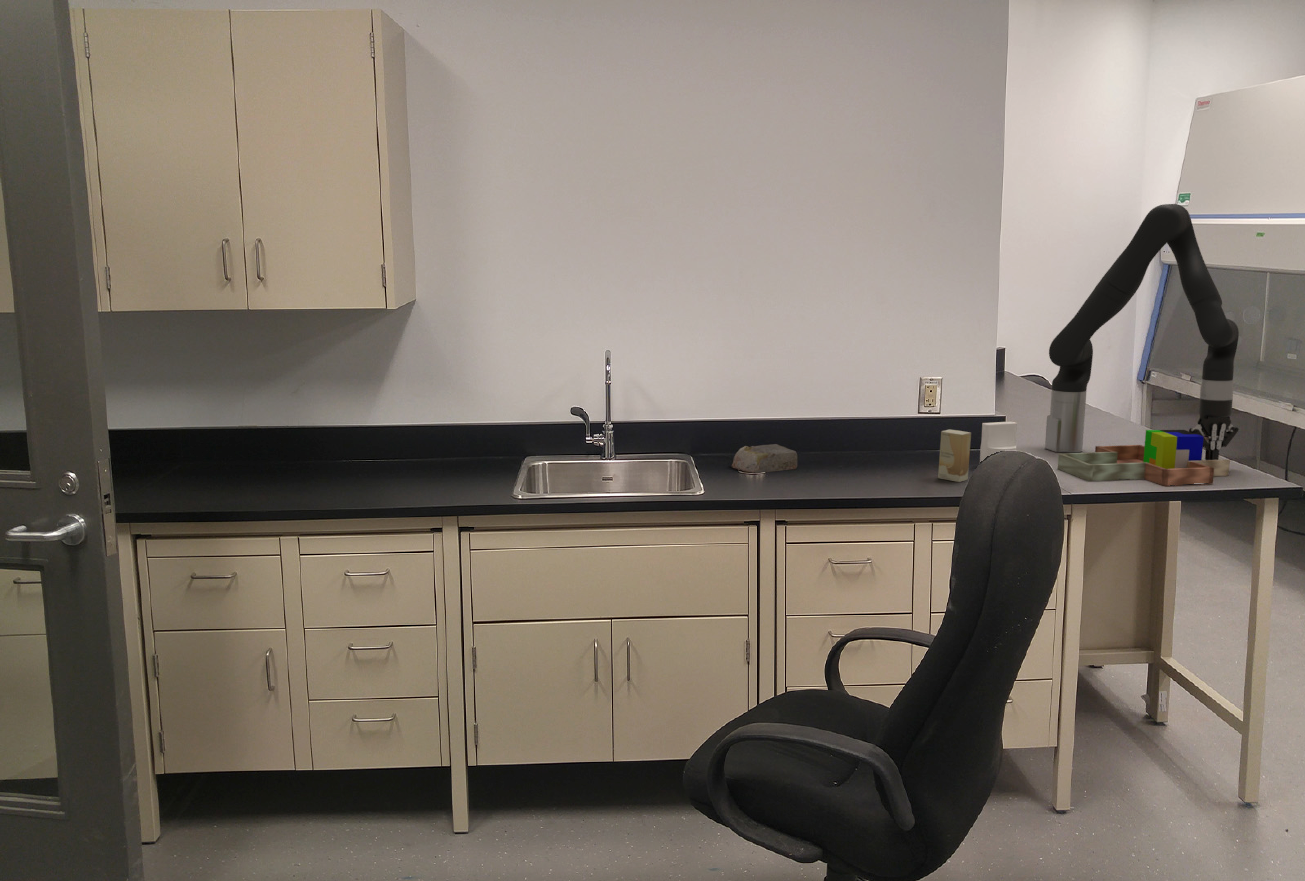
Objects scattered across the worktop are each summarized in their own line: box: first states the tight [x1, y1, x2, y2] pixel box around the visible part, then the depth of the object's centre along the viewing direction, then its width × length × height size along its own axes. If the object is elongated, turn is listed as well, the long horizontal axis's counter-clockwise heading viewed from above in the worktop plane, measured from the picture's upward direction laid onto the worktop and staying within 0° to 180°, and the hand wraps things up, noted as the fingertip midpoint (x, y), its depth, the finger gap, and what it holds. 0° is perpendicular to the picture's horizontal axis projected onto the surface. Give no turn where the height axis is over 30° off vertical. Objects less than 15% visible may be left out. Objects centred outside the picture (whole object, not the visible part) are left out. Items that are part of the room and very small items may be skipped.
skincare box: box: [937, 429, 972, 483], centre depth 268 cm, size 6×4×12 cm
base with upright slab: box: [979, 421, 1018, 463], centre depth 281 cm, size 9×9×12 cm
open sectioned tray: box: [1057, 444, 1231, 487], centre depth 276 cm, size 38×31×4 cm
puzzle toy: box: [1143, 429, 1204, 469], centre depth 276 cm, size 10×10×10 cm
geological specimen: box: [731, 443, 798, 474], centre depth 284 cm, size 11×6×15 cm
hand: (1211, 463), depth 278 cm, fingers closed
